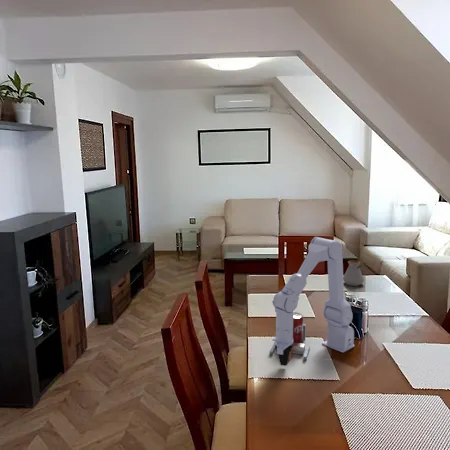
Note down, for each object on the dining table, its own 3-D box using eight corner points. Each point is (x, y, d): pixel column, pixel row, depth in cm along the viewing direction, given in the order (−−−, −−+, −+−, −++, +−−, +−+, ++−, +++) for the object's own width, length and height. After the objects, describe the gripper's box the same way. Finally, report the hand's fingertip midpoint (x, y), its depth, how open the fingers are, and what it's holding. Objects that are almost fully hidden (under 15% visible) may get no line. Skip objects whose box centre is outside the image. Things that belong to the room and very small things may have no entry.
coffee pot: (340, 280, 237) (341, 255, 234) (361, 281, 236) (362, 255, 233) (348, 293, 216) (349, 265, 213) (370, 293, 215) (372, 265, 212)
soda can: (281, 346, 157) (281, 316, 155) (287, 338, 163) (287, 310, 161) (299, 350, 153) (300, 320, 151) (305, 342, 160) (306, 313, 158)
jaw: (278, 346, 156) (278, 340, 155) (304, 350, 153) (304, 343, 152) (272, 358, 147) (272, 350, 147) (300, 362, 144) (300, 355, 144)
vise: (280, 334, 167) (280, 320, 166) (313, 339, 162) (313, 325, 161) (269, 355, 150) (269, 340, 149) (306, 361, 145) (306, 345, 144)
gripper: (277, 317, 147) (276, 353, 149) (267, 334, 133) (267, 373, 135) (297, 320, 144) (296, 356, 147) (289, 337, 131) (288, 376, 133)
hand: (283, 364), depth 141 cm, fingers closed
